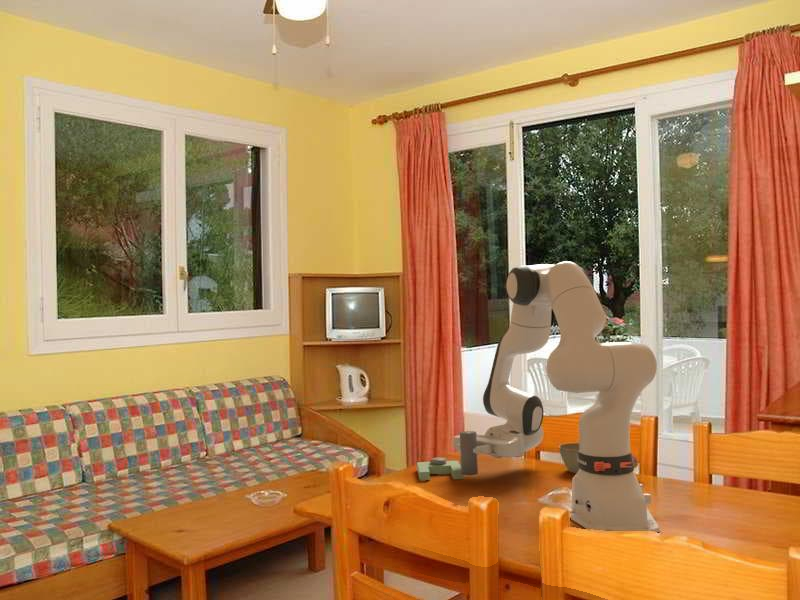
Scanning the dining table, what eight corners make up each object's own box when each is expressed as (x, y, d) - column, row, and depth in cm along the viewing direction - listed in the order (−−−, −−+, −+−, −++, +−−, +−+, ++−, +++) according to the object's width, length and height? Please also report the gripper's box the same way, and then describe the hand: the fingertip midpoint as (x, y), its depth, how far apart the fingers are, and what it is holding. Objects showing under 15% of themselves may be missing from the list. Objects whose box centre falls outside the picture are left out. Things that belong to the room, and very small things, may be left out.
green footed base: (463, 478, 200) (462, 466, 200) (420, 480, 199) (419, 467, 199) (457, 468, 212) (457, 456, 212) (417, 470, 211) (416, 458, 211)
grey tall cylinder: (479, 474, 192) (477, 433, 192) (462, 475, 192) (460, 434, 192) (476, 471, 196) (474, 430, 197) (460, 471, 196) (458, 431, 196)
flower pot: (592, 466, 208) (592, 442, 208) (598, 475, 198) (598, 449, 198) (557, 467, 209) (557, 442, 209) (562, 475, 199) (561, 450, 199)
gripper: (471, 426, 211) (438, 433, 201) (527, 434, 195) (494, 441, 186) (472, 448, 211) (439, 456, 201) (528, 457, 195) (495, 466, 186)
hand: (466, 449), depth 194 cm, fingers closed on grey tall cylinder, 4 cm apart
